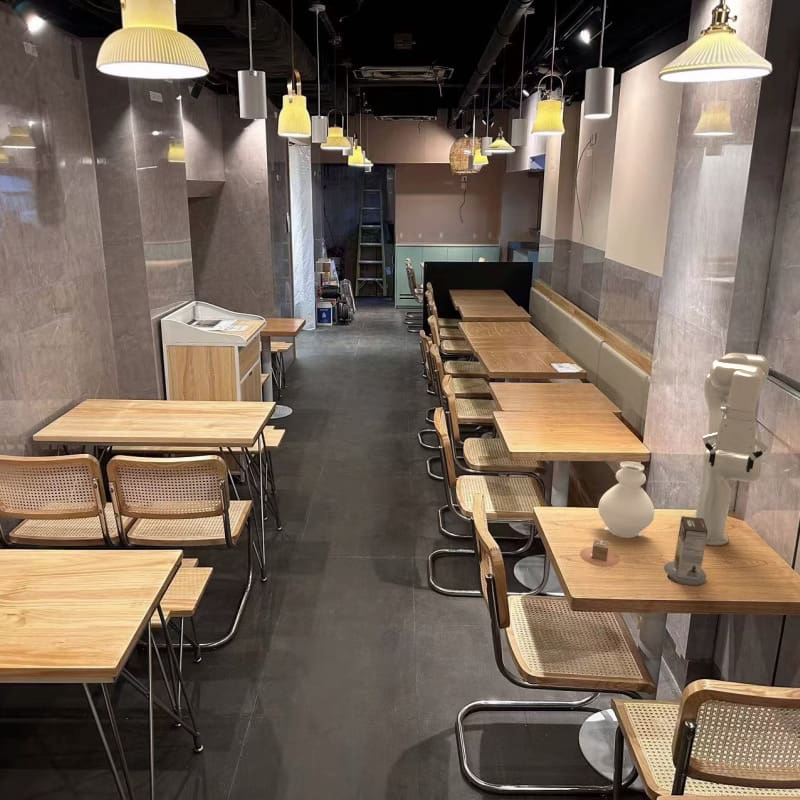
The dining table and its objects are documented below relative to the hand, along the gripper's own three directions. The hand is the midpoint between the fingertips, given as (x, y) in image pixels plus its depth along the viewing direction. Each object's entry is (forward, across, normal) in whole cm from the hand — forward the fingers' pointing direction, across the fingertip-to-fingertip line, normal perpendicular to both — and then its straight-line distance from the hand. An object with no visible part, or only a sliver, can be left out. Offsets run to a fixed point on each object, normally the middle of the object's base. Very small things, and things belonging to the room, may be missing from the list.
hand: (729, 467), depth 206 cm
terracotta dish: (+33, -33, -12) cm, 48 cm away
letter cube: (+32, -33, -12) cm, 47 cm away
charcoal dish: (+33, -8, -10) cm, 35 cm away
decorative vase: (+34, -28, +9) cm, 45 cm away
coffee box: (+32, -7, -10) cm, 34 cm away
